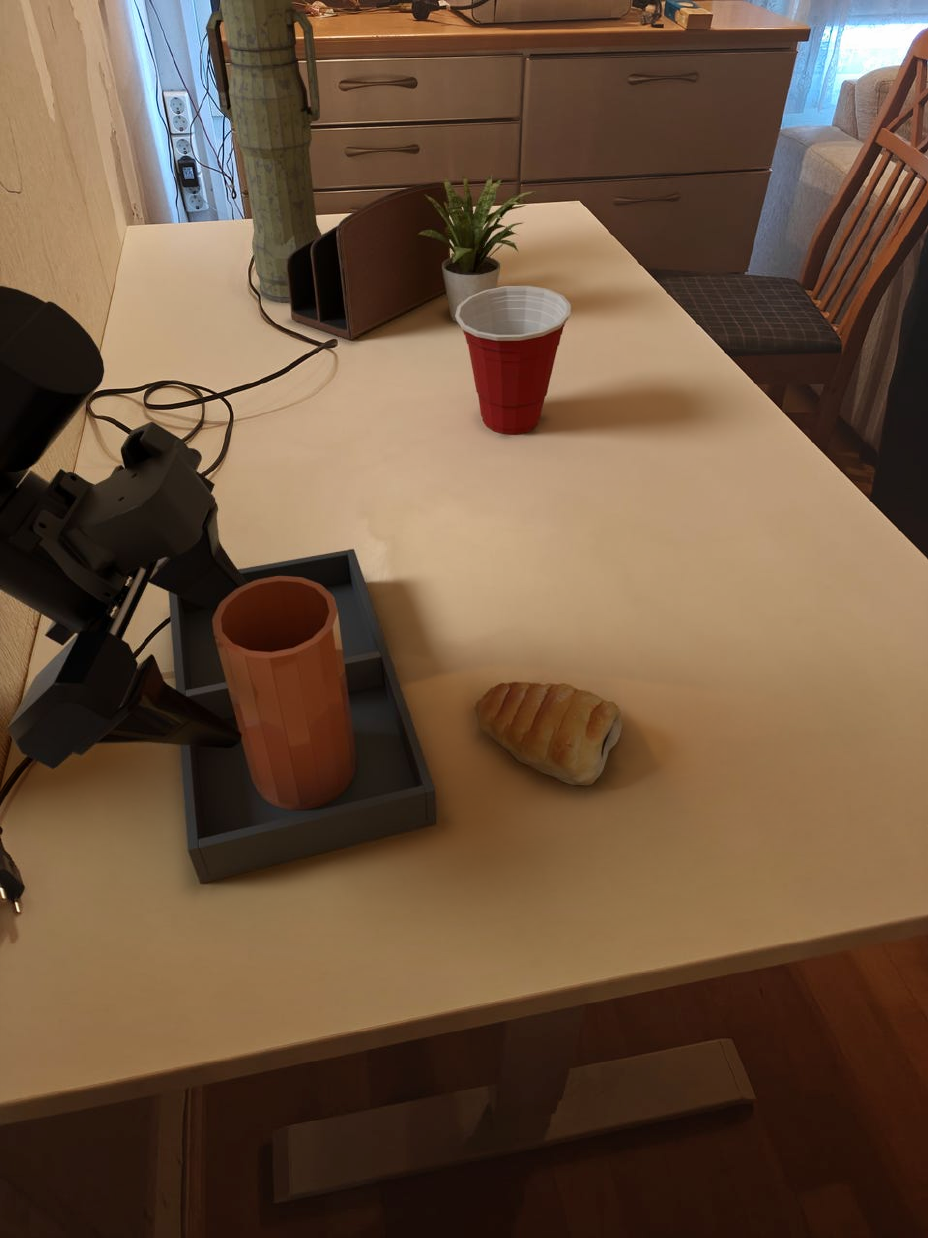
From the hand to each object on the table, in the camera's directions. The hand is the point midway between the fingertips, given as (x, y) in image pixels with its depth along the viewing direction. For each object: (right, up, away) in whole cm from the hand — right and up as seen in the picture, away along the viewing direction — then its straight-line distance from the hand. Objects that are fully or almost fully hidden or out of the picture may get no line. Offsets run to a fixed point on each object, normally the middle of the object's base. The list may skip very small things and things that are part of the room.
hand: (254, 679), depth 50 cm
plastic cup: (+16, +24, +39) cm, 49 cm away
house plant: (+13, +40, +58) cm, 72 cm away
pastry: (+18, -5, +8) cm, 20 cm away
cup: (+2, -6, +5) cm, 8 cm away
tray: (0, -3, +10) cm, 10 cm away
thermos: (-11, +47, +65) cm, 81 cm away
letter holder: (0, +43, +61) cm, 75 cm away
